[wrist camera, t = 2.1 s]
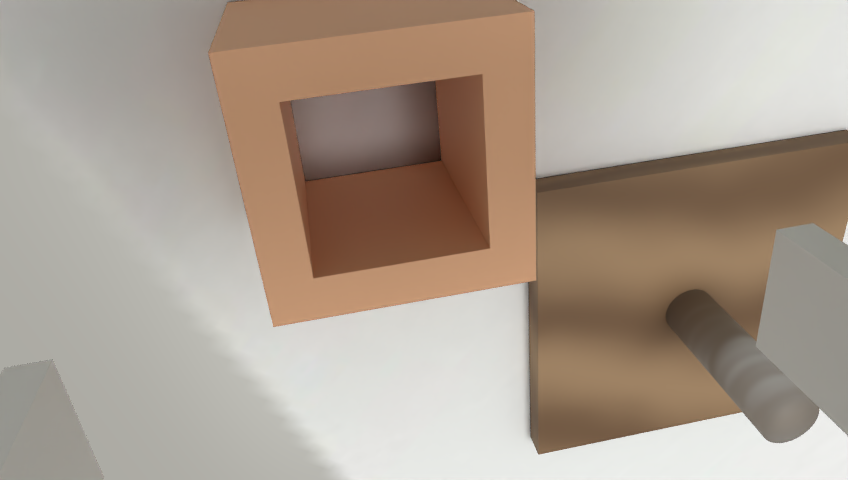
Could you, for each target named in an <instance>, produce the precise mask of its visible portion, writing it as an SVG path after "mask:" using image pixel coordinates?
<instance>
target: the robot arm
mask: <svg viewBox="0 0 848 480" xmlns="http://www.w3.org/2000/svg"><path fill="white" fill-rule="evenodd" d="M756 347H757V348H758V349H759V350H760V351H761V352H762V353H763V354H764V355H765V356H766V357H767V358H768V359H769V360H770V361H771V362H772V363H773V364H775V365H776V366H777V367H778V368H779V369H780V370H781V371H782V372H783V373H784V374H785V375H786V376H787V377H788V378H789V379H790V380H791V381H792V382H793V383H794V384H795V385H796V386H797V387H798V388H799V389H800V390H801V391H802V392H803V393H804V394H805V395H806V396H807V397H808V398H810V399H811V400H812V401H813V402H814V403H815V404H816V405H817V406H818V407H819V408H820V409H821V410H822V411H823V412H824V413H825V414H826V415H827V416H828V417H829V418H830V419H831V420H832V421H833V422H834V423H835V424H836V425H837V426H838V427H839V428H840V429H841V430H842V431H843V432H845V433H846V434H847V435H848V245H847V244H845V243H843V242H842V241H840V240H839V239H837V238H836V237H834V236H832V235H831V234H829V233H828V232H826V231H825V230H823V229H822V228H820V227H818V226H817V225H815V224H814V223H811V224H806V225H800V226H794V227H789V228H783V229H778V230H776V235H775V241H774V246H773V252H772V257H771V263H770V269H769V274H768V280H767V285H766V291H765V297H764V302H763V308H762V313H761V319H760V325H759V330H758V336H757V342H756ZM103 479H104V476H103V474H102V471H101V469H100V467H99V465H98V462H97V460H96V458H95V456H94V453H93V451H92V448H91V446H90V444H89V441H88V439H87V437H86V435H85V432H84V430H83V428H82V425H81V423H80V421H79V419H78V416H77V414H76V412H75V410H74V407H73V405H72V403H71V401H70V398H69V396H68V394H67V391H66V389H65V387H64V384H63V382H62V380H61V377H60V375H59V373H58V371H57V368H56V366H55V364H54V361H53V359H52V360H46V361H40V362H35V363H29V364H24V365H18V366H12V367H7V368H4V369H3V370H2V372H1V374H0V480H103Z"/></svg>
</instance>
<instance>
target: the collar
mask: <svg viewBox="0 0 848 480" xmlns="http://www.w3.org/2000/svg"><path fill="white" fill-rule="evenodd" d="M208 54H209V59H210V63H211V67H212V71H213V75H214V80H215V84H216V88H217V92H218V96H219V101H220V105H221V109H222V113H223V117H224V121H225V126H226V130H227V134H228V138H229V142H230V147H231V151H232V155H233V159H234V163H235V168H236V172H237V176H238V180H239V184H240V189H241V193H242V197H243V201H244V205H245V209H246V214H247V218H248V222H249V226H250V230H251V235H252V239H253V243H254V247H255V251H256V256H257V260H258V264H259V268H260V272H261V277H262V281H263V285H264V289H265V293H266V297H267V302H268V306H269V310H270V314H271V318H272V323H273V327H276V326H281V325H287V324H293V323H298V322H304V321H310V320H315V319H321V318H327V317H332V316H338V315H344V314H349V313H355V312H361V311H366V310H372V309H377V308H383V307H389V306H394V305H400V304H406V303H411V302H417V301H423V300H428V299H434V298H440V297H445V296H451V295H457V294H462V293H468V292H474V291H479V290H485V289H490V288H496V287H502V286H507V285H513V284H519V283H524V282H530V281H536V175H535V15H534V10H532V9H530V8H528V7H526V6H525V5H523V4H521V3H519V2H517V1H516V0H244V1H236V2H227V5H226V8H225V10H224V13H223V15H222V18H221V21H220V23H219V26H218V28H217V31H216V34H215V36H214V39H213V42H212V44H211V47H210V49H209V52H208ZM428 81H435V85H436V98H437V111H438V124H439V136H440V149H441V161H436V162H429V163H423V164H416V165H410V166H403V167H397V168H390V169H384V170H377V171H370V172H364V173H357V174H351V175H344V176H338V177H331V178H325V179H318V180H312V181H305V177H304V172H303V166H302V161H301V156H300V150H299V145H298V140H297V134H296V129H295V123H294V118H293V113H292V107H291V102H290V101H291V100H298V99H305V98H313V97H320V96H327V95H334V94H342V93H349V92H356V91H363V90H370V89H378V88H385V87H392V86H399V85H407V84H414V83H421V82H428Z"/></svg>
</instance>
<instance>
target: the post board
mask: <svg viewBox="0 0 848 480" xmlns="http://www.w3.org/2000/svg"><path fill="white" fill-rule="evenodd" d="M847 221H848V130H843V131H836V132H830V133H824V134H817V135H811V136H805V137H798V138H792V139H786V140H780V141H773V142H767V143H761V144H754V145H748V146H742V147H735V148H729V149H723V150H717V151H710V152H704V153H698V154H691V155H685V156H679V157H672V158H666V159H660V160H654V161H647V162H641V163H635V164H628V165H622V166H616V167H609V168H603V169H597V170H591V171H584V172H578V173H572V174H565V175H559V176H553V177H546V178H540V179H536V281H530V282H529V343H530V423H531V439H532V441H533V443H534V445H535V448H536V450H537V452H538V454H543V453H548V452H553V451H558V450H563V449H567V448H572V447H577V446H582V445H587V444H591V443H596V442H601V441H606V440H611V439H615V438H620V437H625V436H630V435H635V434H639V433H644V432H649V431H654V430H658V429H663V428H668V427H673V426H678V425H682V424H687V423H692V422H697V421H702V420H706V419H711V418H716V417H721V416H726V415H730V414H735V413H740V412H743V413H744V414H745V416H746V417H747V418H748V419H749V420H750V421H751V423H752V424H753V425H754V426H755V427H756V428H757V430H758V431H759V432H760V433H761V434H762V435H763V437H764V438H765V439H766V440H768V441H770V442H773V443H784V442H788V441H791V440H793V439H796V438H798V437H799V436H801V435H802V434H804V433H805V432H806V431H807V430H809V429H810V428H811V426H812V425H813V424H814V423H815V421H816V419H817V417H818V414H819V407H818V406H817V405H816V404H815V403H814V402H813V401H812V400H811V399H810V398H808V397H807V396H806V395H805V394H804V393H803V392H802V391H801V390H800V389H799V388H798V387H797V386H796V385H795V384H794V383H793V382H792V381H791V380H790V379H789V378H788V377H787V376H786V375H785V374H784V373H783V372H782V371H781V370H780V369H779V368H778V367H777V366H776V365H775V364H773V363H772V362H771V361H770V360H769V359H768V358H767V357H766V356H765V355H764V354H763V353H762V352H761V351H760V350H759V349H758V348H757V347H756V342H757V336H758V330H759V325H760V319H761V313H762V308H763V302H764V297H765V291H766V285H767V280H768V274H769V269H770V263H771V257H772V252H773V246H774V241H775V235H776V230H778V229H783V228H789V227H794V226H800V225H806V224H811V223H814V224H815V225H817V226H818V227H820V228H822V229H823V230H825V231H826V232H828V233H829V234H831V235H832V236H834V237H836V238H837V239H839V240H840V241H843V237H844V233H845V229H846V225H847Z"/></svg>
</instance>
